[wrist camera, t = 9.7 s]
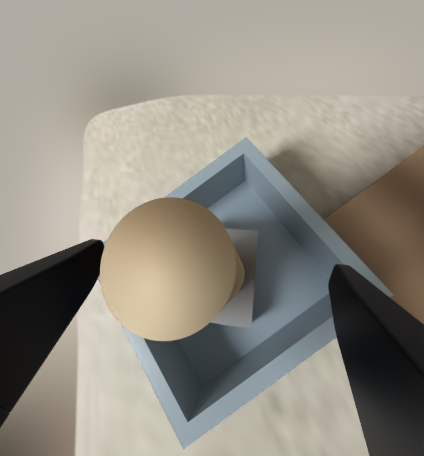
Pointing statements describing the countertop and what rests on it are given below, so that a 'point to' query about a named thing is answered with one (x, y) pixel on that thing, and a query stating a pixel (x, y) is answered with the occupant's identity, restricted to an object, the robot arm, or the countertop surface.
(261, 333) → the box
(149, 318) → the rubber stamp
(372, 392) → the robot arm
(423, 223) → the far plate
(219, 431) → the countertop surface
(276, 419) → the countertop surface
